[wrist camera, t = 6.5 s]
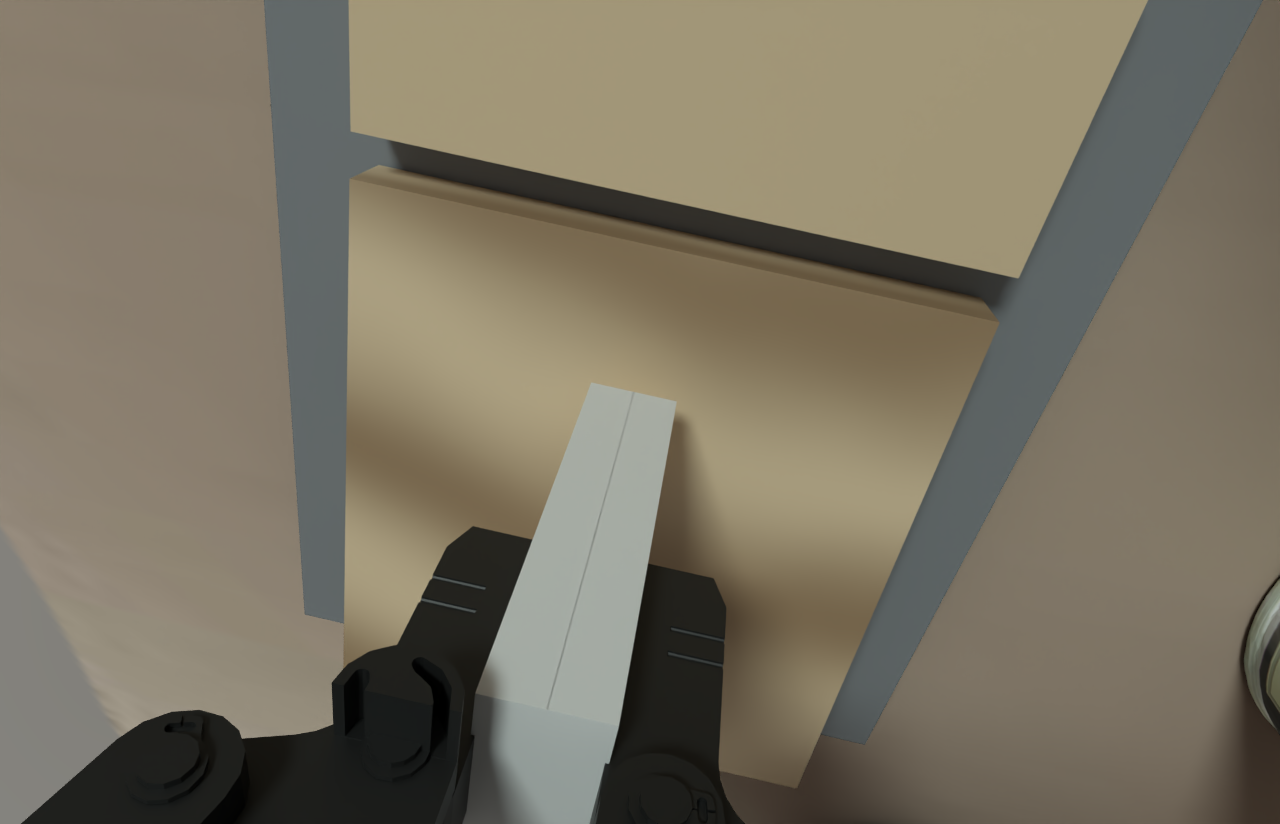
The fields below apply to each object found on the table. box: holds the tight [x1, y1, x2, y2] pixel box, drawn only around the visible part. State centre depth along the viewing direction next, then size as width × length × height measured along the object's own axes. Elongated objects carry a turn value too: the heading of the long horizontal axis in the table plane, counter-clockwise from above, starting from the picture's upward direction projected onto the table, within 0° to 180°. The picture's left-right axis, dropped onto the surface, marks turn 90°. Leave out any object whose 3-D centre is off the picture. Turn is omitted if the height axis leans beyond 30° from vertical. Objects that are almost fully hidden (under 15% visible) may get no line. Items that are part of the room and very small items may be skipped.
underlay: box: [264, 0, 1263, 745], centre depth 16 cm, size 18×15×3 cm
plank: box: [344, 165, 1000, 789], centre depth 17 cm, size 12×11×1 cm
